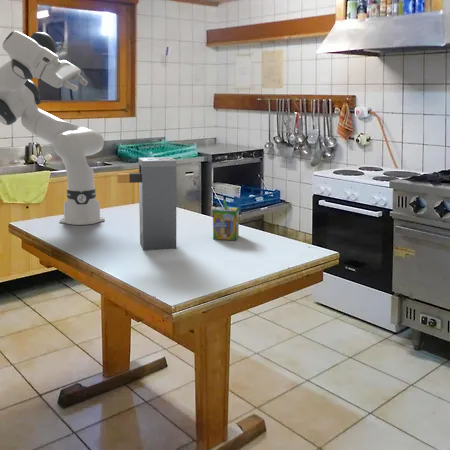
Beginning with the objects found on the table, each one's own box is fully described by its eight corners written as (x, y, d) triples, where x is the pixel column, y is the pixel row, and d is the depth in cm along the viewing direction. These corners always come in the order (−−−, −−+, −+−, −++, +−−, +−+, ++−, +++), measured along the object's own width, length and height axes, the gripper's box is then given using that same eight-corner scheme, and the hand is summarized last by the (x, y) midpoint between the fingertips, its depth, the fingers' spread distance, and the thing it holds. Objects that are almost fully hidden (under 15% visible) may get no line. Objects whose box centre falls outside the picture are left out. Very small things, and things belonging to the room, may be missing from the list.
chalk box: (235, 241, 223) (236, 203, 220) (212, 239, 224) (212, 201, 221) (239, 235, 232) (240, 198, 228) (216, 234, 233) (217, 197, 230)
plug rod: (117, 181, 206) (117, 173, 205) (167, 180, 211) (167, 172, 210) (118, 183, 203) (117, 174, 203) (169, 181, 208) (169, 173, 207)
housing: (140, 243, 217) (138, 157, 210) (171, 241, 220) (171, 157, 213) (143, 250, 207) (141, 161, 200) (176, 248, 210) (176, 160, 203)
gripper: (55, 66, 214) (87, 88, 216) (32, 77, 195) (67, 100, 197) (62, 52, 211) (95, 73, 213) (39, 61, 193) (75, 85, 195)
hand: (82, 86), depth 205 cm, fingers open, 8 cm apart
